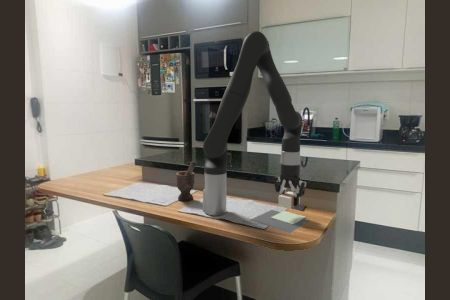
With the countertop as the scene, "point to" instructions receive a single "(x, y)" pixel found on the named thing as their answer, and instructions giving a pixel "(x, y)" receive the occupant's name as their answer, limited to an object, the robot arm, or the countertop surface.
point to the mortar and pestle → (186, 182)
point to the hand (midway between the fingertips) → (289, 204)
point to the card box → (286, 200)
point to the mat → (281, 220)
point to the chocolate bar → (299, 207)
